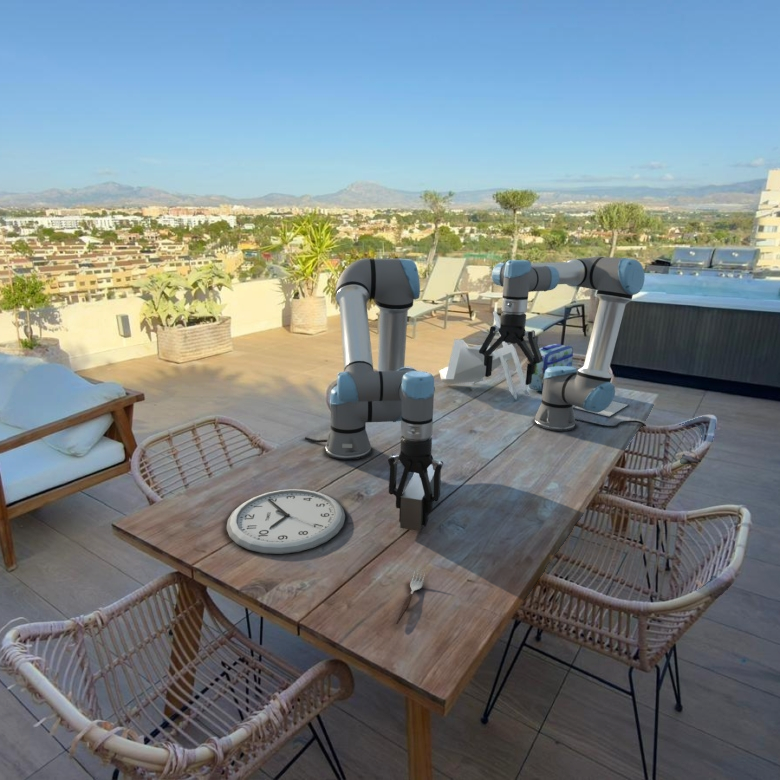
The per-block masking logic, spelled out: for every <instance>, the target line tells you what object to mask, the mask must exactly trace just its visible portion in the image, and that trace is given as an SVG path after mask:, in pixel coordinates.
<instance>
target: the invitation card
mask: <svg viewBox="0 0 780 780" xmlns="http://www.w3.org/2000/svg"><path fill="white" fill-rule="evenodd" d="M628 406H629V404H627V403H623V402H618V401H614V400H612V402H611V404H610V405H609V406H608V407H607V408H606V409H605V410H603V411H601V412H592V411H587V410H585V409H583V408H580V407H577V406H574V407H573V409H575V410H581V411H584V412H587V413H593V414H596V415H600V416H604V417H608V418H609V417H611V416H613V415H614V414H616V413H617V412H619V411H621V410H623V409H624V408H626V407H628Z"/></svg>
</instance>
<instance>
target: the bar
mask: <svg viewBox="0 0 780 780" xmlns="http://www.w3.org/2000/svg"><path fill="white" fill-rule="evenodd" d="M427 470H428V477H429V481H430V485H431V490H432V494H434V472H435V470H433V466H432V464H431V465H430V466H429V467H428V468H427ZM424 500H425V494H424V489H423V485H422V481H421V478H420V476H419V474H418V473H415V472H413V474H412V476H411V478H410V480H409V482H408V483H407V486H405V488H404V490H403V493H402V496H401V513H400V512H399V514H400V522H399V528H400V529H403V530H409V531H416V532H422V529H423V527H424V526H422V523H423V502H424ZM434 502H435V501H433V502H432V505H433V504H434Z"/></svg>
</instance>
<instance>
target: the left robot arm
mask: <svg viewBox="0 0 780 780" xmlns="http://www.w3.org/2000/svg"><path fill="white" fill-rule="evenodd" d="M420 282H421V281H420V274H419V270H418V265H417V264H416V262H415V261H414V260H412V259H406V258H400V257H399V258H360V259H357V260H355V261H353V262H352V263H350V264H349V265H348V266H347V267H346V268H345V269H344V270H343V271H342V273H341V274H340V276H339V277H338V279H337V281H336V285H335V289H334V290H335V292H334V294H335V302H336V304H337V305H338V306H339V316H340V331H341V333H340V334H341V347H342V361H343V371H339V372H338V373H337V375H336V385H335V386H334V387H333V388H332V389H331V390H330V394H329V395H330V397H329V405H330V430H329V435H328V437H327V439H313V438H310V437H308V436H307V437H306V436H305V437H304V440H306V441H309V442H313V443H325V453H326V455H327V456H329V457H330V458H333V459H336V460H341V461H353V460H359V459H363V458H366V457H367V456H369V455H370V454H371V451H372V446H371V442H370V439H369V436H368V433H367V430H366V423H385V422H386V423H387V422H390V423H391V422H393V423H397V422H400V435H401V436H400V451H399V454H396V455H395V454H393V453H391V454H390V455H389V457H388V458H387V462H388V466H389V479H388V494H389V495H392V496H393V495H394V496H395V507H396V509H398V510H399V517H398V518H399V519H398V521H399V523H400V513H401V496H402V494H403V492H404V490H405V488H406V484H407V480H408V478H409V475H410V473H418V474H419V476H420V478H421V481H422V485H423V489H424V494H425V500H424V502H423V523H422V526H423V527H426V526H427V524H428V520H429V514H431V513H432V511H433V504H432V502H433V501H434V502H439V500H440V497H441V483H442V482H441V480H442V479H441V477H442V475H441V474H442V468H443V466H444V461H442V460H439V461H438V460H435V459H434V456H433V454H432V448H433V447H432V446H433V438H432V436H433V427H434V426H433V424H434V420H433V419H434V404H435V403H434V400H435V391H436V387H435V377H434V375H433V374H431V373H430V372H427V371H424V370H423V371H422V370H417V369H416V368H415V367H411V366H405V364H406V346H407V333H408V332H407V330H408V315H409V314H408V313H409V311H410V309H412V308H413V306H414V300H415V301H416V300H418V299H420V295H421V283H420ZM370 300H374V305H375V306H376V307H377V308H378V309H379V324H378V350H377V351H378V352H377V354H378V355H377V370H374V362H373V353H372V343H371V333H370V323H369V315H368V305H367V304H368V303H369V301H370ZM399 462H400V463H401V465H402V466H403V471H402V475H401V478H400V480H399V484H398V486H397V477H398V464H399ZM431 464H432V466H433V470H435V472H434V494H432V490H431V485H430V481H429V477H428V470H427V468H428V467H429V466H430V465H431ZM434 502H433V503H434Z"/></svg>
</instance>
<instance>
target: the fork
mask: <svg viewBox="0 0 780 780" xmlns="http://www.w3.org/2000/svg"><path fill="white" fill-rule="evenodd" d="M420 570H421V572H420ZM423 570H424V569H420V568H418V572H417V569H415V570H414V573H413V576H412V579H411V581H410V583H409V586H410V590H411V591H410V593H409V594H408V596H407V597H406V598H405V600H404V601H403V603H402V605H401V609H400V612H399V615H398V617H397V620H396V625H398V624H399V622H400V620H401V619H402V617H403V616H404V614H405V613H406V612H407V610H408V608H409V606H410V604H411V600H412V597H413V594H414V592H416V591H419V590H420V589H422V587H423V585H424V581H425V576H426V571H427V570H426V569H425V570H424V574H423ZM416 572H417V574H416ZM419 574H420V575H419ZM422 575H423V576H422Z"/></svg>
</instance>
